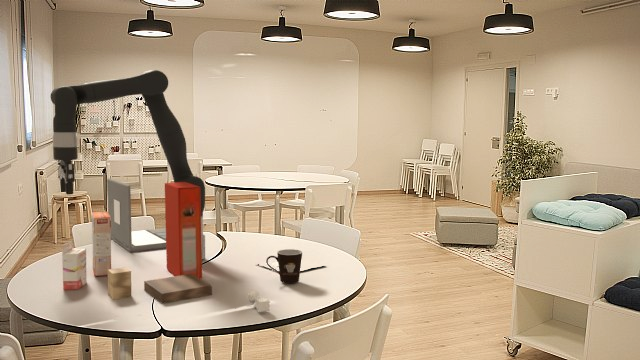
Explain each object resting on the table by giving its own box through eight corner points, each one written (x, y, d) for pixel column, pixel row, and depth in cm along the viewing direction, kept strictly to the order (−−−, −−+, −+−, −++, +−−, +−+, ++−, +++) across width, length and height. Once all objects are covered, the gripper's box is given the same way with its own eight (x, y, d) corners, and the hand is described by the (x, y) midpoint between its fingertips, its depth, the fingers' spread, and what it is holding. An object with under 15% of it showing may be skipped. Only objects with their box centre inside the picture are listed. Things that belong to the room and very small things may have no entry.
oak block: (126, 291, 176) (125, 267, 175) (131, 296, 172) (130, 271, 171) (108, 294, 173) (107, 269, 172) (113, 299, 168) (112, 273, 168)
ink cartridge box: (78, 289, 177) (77, 244, 176) (62, 290, 177) (61, 244, 176) (87, 282, 186) (86, 239, 185) (72, 282, 186) (70, 239, 184)
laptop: (190, 246, 243) (189, 182, 240) (129, 254, 228) (127, 185, 225) (164, 233, 271) (163, 175, 269) (107, 239, 257) (106, 178, 254)
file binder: (178, 281, 188) (177, 187, 185) (165, 269, 203) (164, 182, 200) (202, 278, 192) (201, 186, 189) (187, 267, 207) (186, 181, 204)
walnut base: (191, 282, 187) (191, 273, 187) (211, 294, 174) (211, 285, 174) (144, 290, 178) (144, 281, 177) (162, 303, 165) (161, 293, 165)
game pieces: (270, 311, 160) (270, 300, 160) (259, 312, 158) (259, 302, 158) (257, 299, 171) (257, 289, 170) (247, 300, 169) (247, 290, 169)
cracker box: (112, 275, 195) (111, 216, 193) (94, 277, 192) (92, 217, 190) (109, 266, 207) (108, 210, 205) (92, 267, 205) (90, 211, 203)
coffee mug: (305, 278, 193) (306, 250, 192) (296, 285, 185) (296, 255, 184) (275, 275, 197) (275, 247, 196) (265, 281, 189) (265, 252, 188)
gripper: (81, 146, 185) (83, 194, 187) (72, 144, 197) (73, 190, 198) (57, 146, 181) (59, 196, 182) (49, 145, 192) (50, 191, 194)
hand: (66, 193), depth 190 cm, fingers open, 8 cm apart
